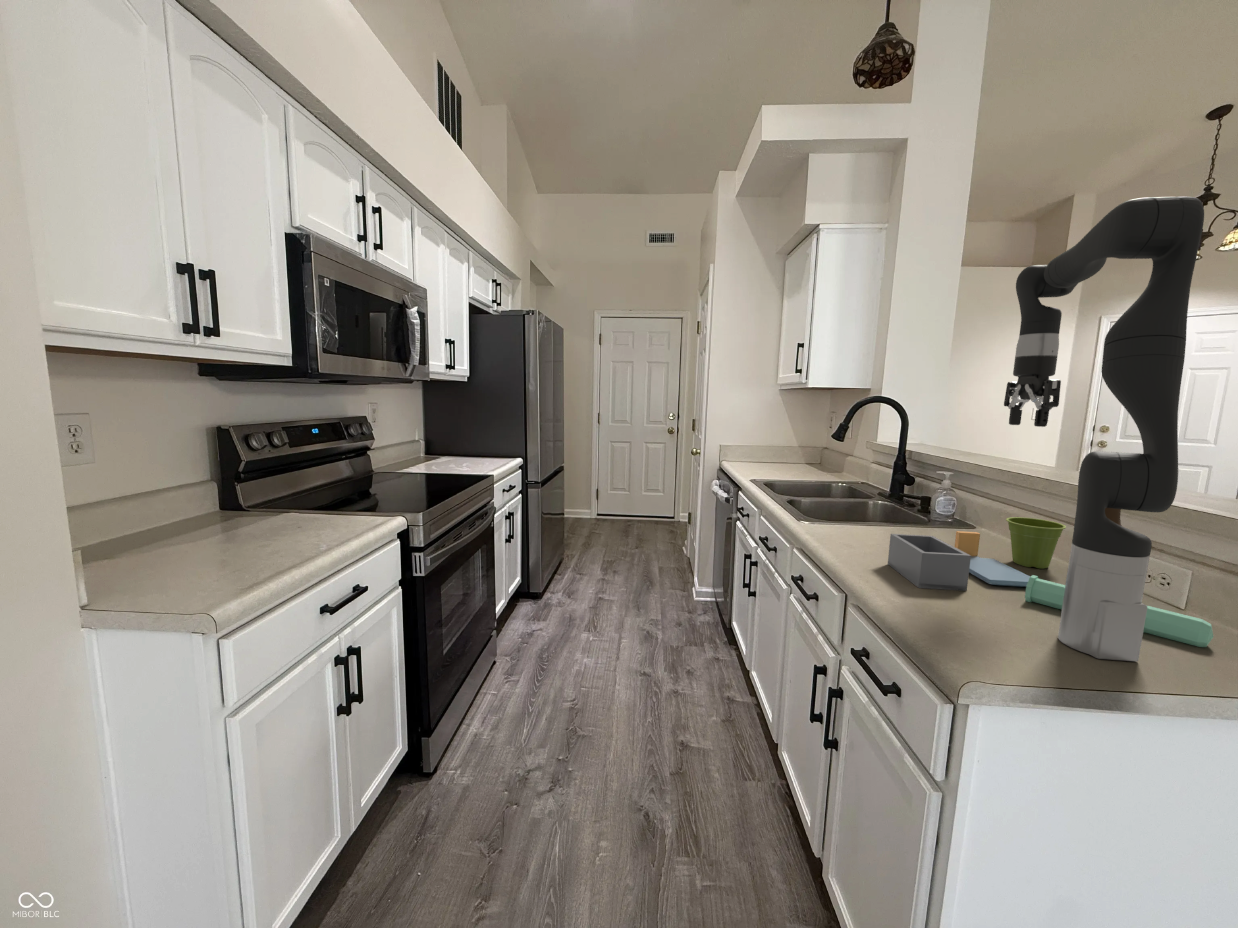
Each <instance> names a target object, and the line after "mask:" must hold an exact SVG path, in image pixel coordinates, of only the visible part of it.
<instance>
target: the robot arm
mask: <svg viewBox="0 0 1238 928" xmlns="http://www.w3.org/2000/svg"><path fill="white" fill-rule="evenodd" d="M1204 222H1205V209H1204V204H1203V202H1202V200H1200V199H1199V198H1197V197H1194V196H1186V195H1185V196H1183V195H1182V196H1181V195H1180V196H1155V197H1154V196H1152V197H1150V196H1149V197H1147V196H1146V197H1139V198H1133V199H1129V200H1125V201H1124V202H1122V203H1120V204H1118V205H1116V206H1115V207H1114V208H1112V209H1111V210H1110V211H1109V212H1108V213H1106V214H1105V215H1104V216H1103V217H1102V219H1100V220H1099V221H1098V222H1097V223H1096V224H1095V225H1094V226H1093V227H1092V228H1091V229H1090V230H1089V231H1088V232H1087V233H1086V234H1085V235H1084V236H1083V237H1082V238H1081V239H1080V240H1079V241H1078V242H1077V243H1076V244H1075V245H1074V246H1072V247H1070V248H1069V249H1067V250H1065V251H1064V252H1062V253H1060V254H1059V255H1057V256H1055V257H1054V258H1053V259H1052V260H1050V262H1049V263H1047V264H1036V265H1030V266H1029V265H1028V266H1027V267H1025V268H1023V270H1021V272H1020V273H1019V274H1018V276H1017V278H1016V283H1015V292H1016V296H1017V299H1018V304H1019V310H1020V326H1019V327H1020V328H1019V335H1018V339H1017V344H1016V347H1015V355H1014V364H1013V372H1012V375H1013V376H1014V377H1017V381H1008V382H1007V384H1006V389H1005V395H1004V401H1003V406H1004V407H1008V409H1009V418H1008V419H1009V420H1008V425H1009V426H1019V425H1021V423H1022V414H1023V408H1024V405H1025V404H1027V403H1028V402H1030V401H1031V402H1032V403H1034V405H1035V408H1036V410H1035V416H1034V423H1033V425H1034V427H1039V428H1040V427H1041V428H1043V427H1046V426H1047V425H1048V422H1049V415H1050V411H1051V410H1052V409H1053V408H1058V407H1059V404H1060V397H1061V396H1060V395H1061V387H1062V386H1061V385H1062V380H1061V379H1050V377H1053V376H1055V375H1056V370H1057V369H1056V368H1057V363H1058V362H1057V361H1058V354H1059V349H1060V331H1061V323H1062V315H1063V314H1062V311H1061V309H1060V308H1057V307H1055V306H1047V305H1044V304H1042V303H1041V301H1040V299H1041V298H1042V299H1043V298H1044V299H1045V298H1060V297H1064V296H1067V295H1069V294H1071V293H1072V292H1073V290H1074V289H1075V288H1076V286H1077V285H1078V284H1079V283H1083V282H1084V281H1086V280H1088V279H1090V278H1092V277H1093V276H1094V275H1096V274H1097V273H1099V272H1100V271H1101V270H1102V269H1103V267H1104V266H1105V264H1106V262H1107V259H1108V258H1114V259H1119V260H1120V259H1121V260H1122V259H1123V260H1129V259H1130V260H1132V259H1133V260H1140V259H1141V260H1143V259H1145V260H1147V259H1151V261H1152V269H1151V274H1150V278H1149V280H1148V283H1147V286H1146V288H1145V289H1144V290H1143V292H1142V293H1141V294H1140V295H1139V297H1138V298H1137V299H1136V300H1135V301H1134V302H1133V303H1132V304H1131V306H1129V307H1128V308H1127V310H1125V312H1124V313H1122V315H1121V316H1120V317H1119V318H1118V319H1117V320H1116V321H1115V322H1114V324H1112V326H1111V327H1110V329H1109V330H1108V332H1107V333H1106V335H1105V338H1104V342H1103V350H1102V362H1101V363H1102V364H1101V376H1102V379H1103V382H1104V383H1105V385H1106V386H1107V389H1109V391H1110V392H1111V393H1112V395H1113V396H1114V397H1115V398H1116V400H1117V401H1118V402H1119V403H1120V404H1121V405H1122V406H1123V408H1124V409H1125V410H1126V411H1127V413H1128V414H1129V415H1130V417H1131V418H1132V420H1133V422H1134V424H1135V425H1136V427H1137V429H1138V431H1139V434H1140V439H1141V442H1142V443H1141V444H1142V449H1143V450H1142V451H1143V452H1142V453H1140V452H1139V453H1138V452H1137V453H1135V452H1123V451H1122V452H1121V451H1119V452H1118V451H1103V450H1102V451H1101V450H1100V451H1097V450H1096V451H1091V452H1089V453H1087V454H1086V455H1085V457H1084V458H1083V459H1082V461H1081V464H1080V469H1079V472H1078V473H1079V474H1078V482H1077V500H1076V511H1075V515H1074V516H1075V518H1074V523H1073V524H1074V525H1073V535H1072V539H1071V540H1072V541H1071V547H1070V553H1069V558H1068V559H1069V560H1068V566H1067V573H1066V577H1065V578H1066V579H1065V584H1064V585H1065V591H1064V598H1063V605H1062V610H1061V612H1060V613H1061V614H1060V621H1059V628H1058V633H1057V639H1058V640H1059V642H1061V643H1062V644H1064V645H1065V646H1067V647H1069V648H1071V649H1074V650H1076V651H1079V652H1081V653H1084V654H1087V655H1090V656H1092V657H1094V658H1096V659H1100V660H1113V661H1125V662H1126V661H1127V662H1139V659H1140V652H1141V648H1142V647H1141V646H1142V640H1143V635H1144V632H1143V630H1144V625H1145V619H1146V613H1147V606H1148V605H1147V604H1145V603H1142V602H1143V598H1144V591H1145V585H1146V580H1147V575H1148V574H1147V573H1148V567H1149V562H1150V557H1151V556H1150V555H1151V554H1152V553H1151V552H1152V544H1153V543H1152V539H1151V538H1150V537H1149V536H1147V535H1145V534H1143V533H1141V532H1140V531H1139V532H1138V531H1135V530H1133V529H1130V528H1127V527H1125V526H1123V525H1122V526H1120V525H1118V524H1116V523H1114V522H1113V521H1111V520H1110V519H1108V518H1107V517H1106V515H1105V508H1113V509H1121V510H1125V511H1135V512H1136V511H1137V512H1144V513H1145V512H1146V513H1163V512H1166V511H1168V510H1169V509H1170V508H1171V507H1172V505H1173V503H1174V501H1175V499H1176V495H1177V491H1178V483H1179V442H1178V441H1179V439H1178V435H1179V434H1178V433H1179V431H1178V430H1179V429H1178V427H1179V426H1178V420H1179V419H1178V418H1179V417H1178V416H1179V404H1180V395H1181V387H1182V386H1181V385H1182V379H1183V371H1184V367H1185V366H1184V365H1185V360H1186V359H1185V357H1186V356H1185V355H1186V346H1187V345H1186V344H1187V327H1188V326H1187V324H1188V314H1189V313H1188V311H1189V303H1190V302H1189V301H1190V292H1191V285H1192V281H1193V275H1194V271H1195V266H1196V262H1197V256H1198V252H1199V247H1200V243H1201V239H1202V233H1203V229H1204V228H1203V227H1204V224H1205V223H1204ZM1051 399H1052V401H1051Z"/></svg>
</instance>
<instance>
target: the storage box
mask: <svg viewBox="0 0 1238 928" xmlns="http://www.w3.org/2000/svg"><path fill="white" fill-rule="evenodd" d="M889 535H890V536H889V545H888V546H889V547H888V557H887V566H889V565H890V566H891V567H890V566H889V567H890V568H891V569H894V571H896V573H898V574H899V575H901V576H902V577H904V578H905V579H907V580H908V581H909V582H910V583H911V584H913V585H914V586H916V587H917V588H919V589H930V590H931V589H932V590H945V591H961V592H963V591H964V592H965V591H966V592H967V591H968V583H969V574H970V573H969V568H970V560H971V555H969V554H967V553H965V552H963V551H961V550H959V549H957V548H955V546H953V545H951V544H949V543H947V542H945V541H944V540H941V539H940V538H938V537H936V536H934V535H922V534H921V535H920V534H907V533H906V534H903V533H890V534H889Z"/></svg>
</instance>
